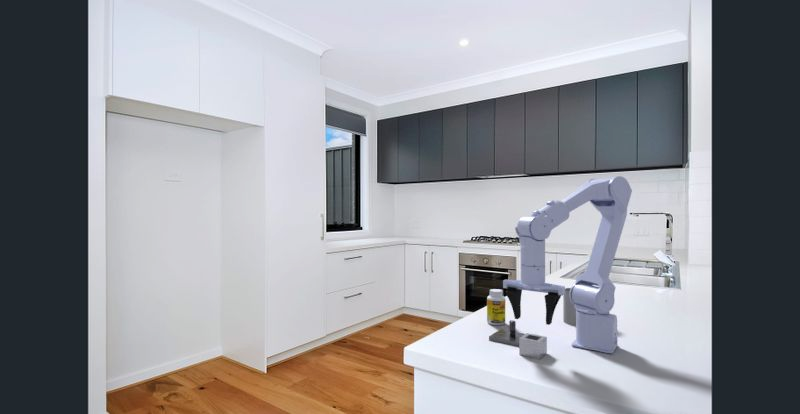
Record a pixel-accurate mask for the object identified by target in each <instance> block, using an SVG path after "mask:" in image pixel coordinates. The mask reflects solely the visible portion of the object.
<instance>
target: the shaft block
mask: <svg viewBox="0 0 800 414" xmlns="http://www.w3.org/2000/svg"><path fill="white" fill-rule="evenodd" d="M508 326H509V327H508V328H509V330H507V329H502V328H500V329H498V331H497V330H496V331H495V332H493V333H492V334H490V335H489V336H488V340H489V341H491V342H496V343H502V344H505V345H506V344H507V345H511V346H515V347H519V338H520V337H522V336H523V335H525V334H526V333H523V332H519V331H516V329H517V328H516V320H509V325H508Z"/></svg>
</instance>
